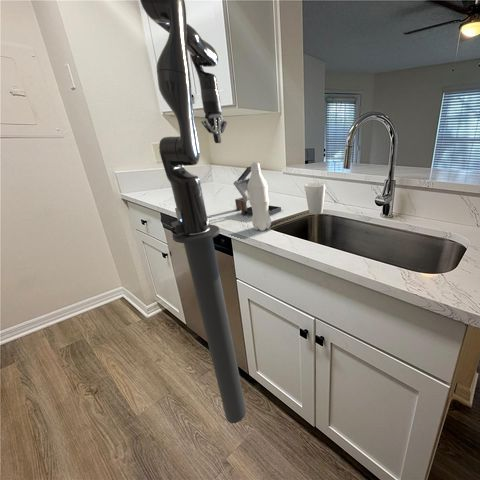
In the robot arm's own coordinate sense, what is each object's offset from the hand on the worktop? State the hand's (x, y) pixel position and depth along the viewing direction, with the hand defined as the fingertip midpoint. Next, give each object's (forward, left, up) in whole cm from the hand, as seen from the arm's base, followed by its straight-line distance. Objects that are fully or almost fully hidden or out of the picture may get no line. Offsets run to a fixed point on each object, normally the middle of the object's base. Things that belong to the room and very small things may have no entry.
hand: (218, 143), depth 121 cm
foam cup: (+24, -40, -31) cm, 56 cm away
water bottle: (-5, -40, -31) cm, 51 cm away
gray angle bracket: (+4, -13, -21) cm, 25 cm away
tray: (+7, -21, -31) cm, 38 cm away
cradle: (+4, -11, -31) cm, 33 cm away
